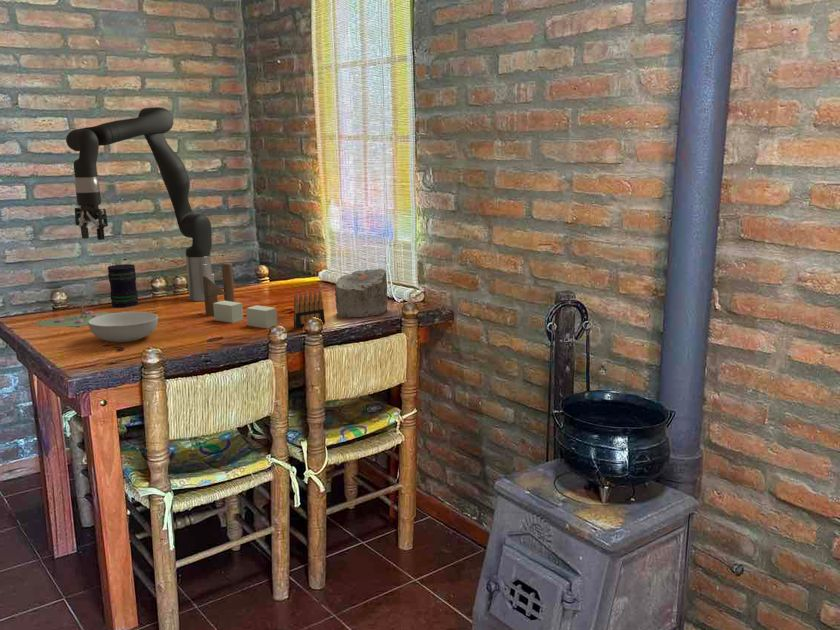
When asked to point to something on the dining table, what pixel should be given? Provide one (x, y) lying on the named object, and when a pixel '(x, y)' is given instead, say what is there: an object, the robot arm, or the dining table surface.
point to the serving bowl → (123, 326)
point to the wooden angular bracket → (218, 289)
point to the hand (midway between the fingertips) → (93, 238)
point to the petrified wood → (361, 293)
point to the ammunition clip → (307, 308)
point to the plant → (72, 318)
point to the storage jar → (123, 285)
